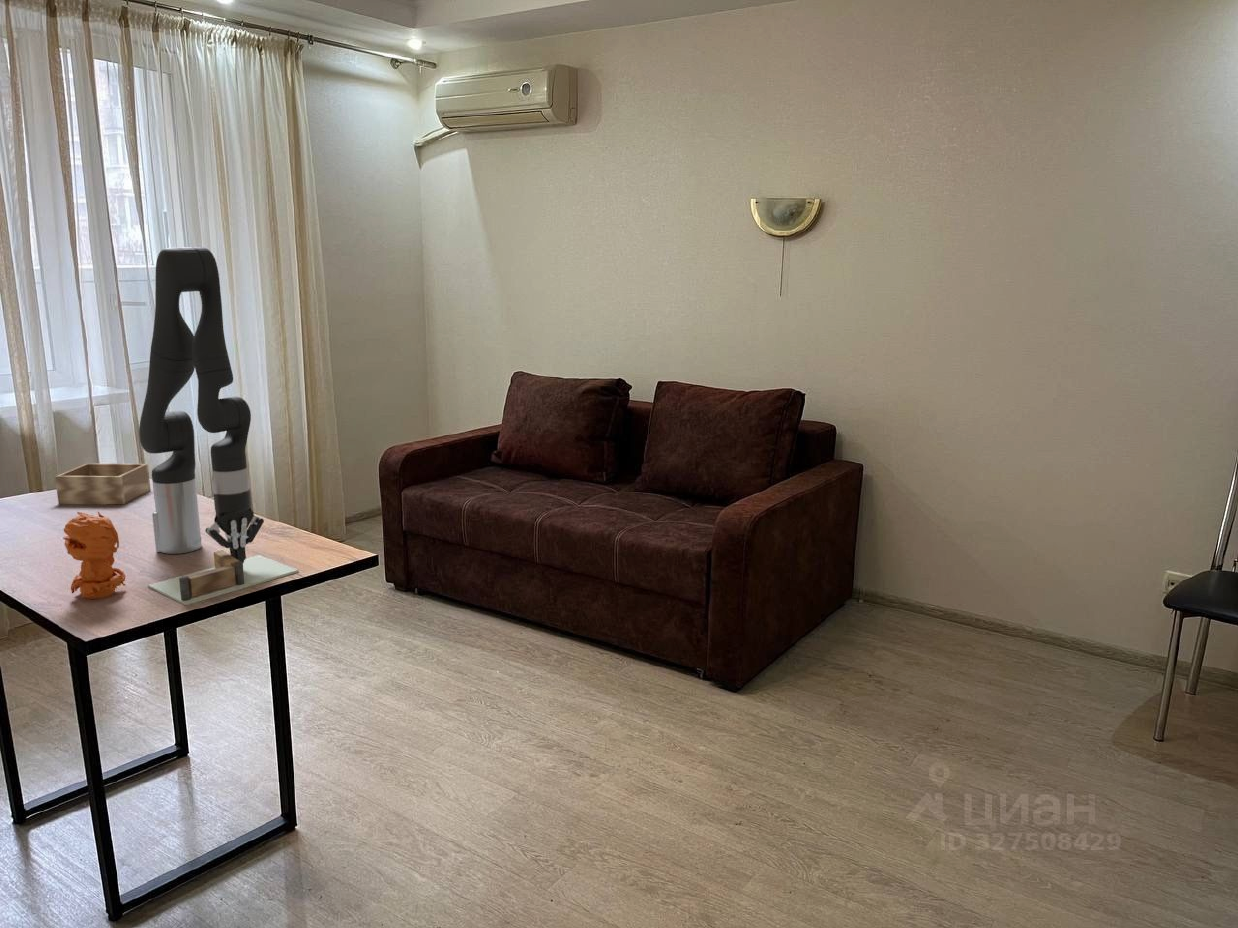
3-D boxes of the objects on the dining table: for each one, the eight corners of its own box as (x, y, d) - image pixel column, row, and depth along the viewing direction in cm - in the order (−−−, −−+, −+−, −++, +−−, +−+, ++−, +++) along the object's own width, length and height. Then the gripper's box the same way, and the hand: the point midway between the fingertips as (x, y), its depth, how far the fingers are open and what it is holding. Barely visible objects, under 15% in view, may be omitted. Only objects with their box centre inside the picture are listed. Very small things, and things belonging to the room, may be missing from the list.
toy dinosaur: (83, 584, 199) (73, 504, 195) (136, 583, 200) (126, 503, 196) (57, 604, 188) (45, 519, 184) (113, 603, 189) (102, 518, 185)
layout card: (185, 605, 188) (185, 602, 188) (148, 587, 198) (147, 584, 198) (298, 571, 208) (298, 569, 208) (259, 556, 218) (259, 554, 218)
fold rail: (241, 578, 201) (240, 561, 200) (232, 580, 200) (230, 563, 199) (224, 567, 208) (222, 550, 207) (215, 569, 207) (213, 552, 206)
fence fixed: (184, 603, 189) (182, 579, 188) (179, 601, 190) (177, 577, 189) (246, 585, 200) (244, 562, 198) (241, 583, 201) (239, 560, 200)
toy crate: (58, 504, 259) (54, 476, 258) (89, 489, 275) (86, 463, 273) (123, 504, 260) (120, 477, 258) (150, 490, 275) (147, 463, 273)
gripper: (251, 480, 210) (258, 552, 214) (193, 491, 201) (201, 566, 205) (268, 485, 206) (274, 559, 210) (210, 497, 196) (217, 574, 200)
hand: (238, 562), depth 207 cm, fingers closed
